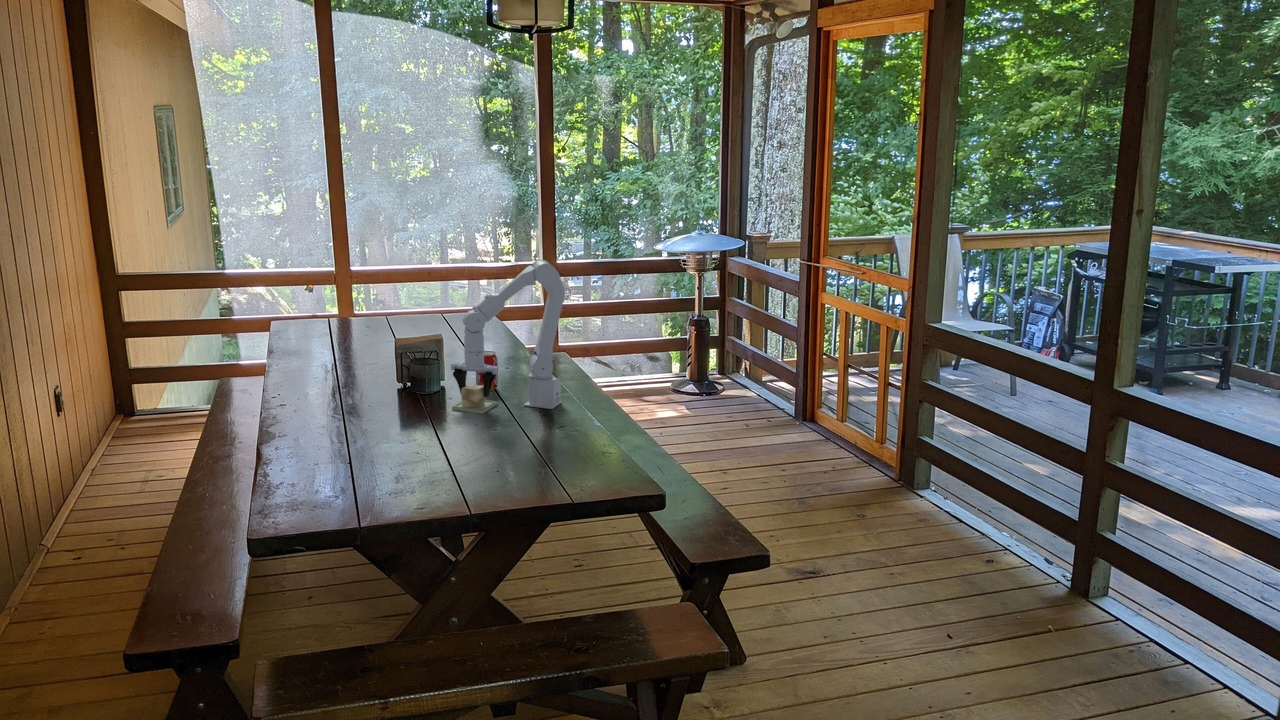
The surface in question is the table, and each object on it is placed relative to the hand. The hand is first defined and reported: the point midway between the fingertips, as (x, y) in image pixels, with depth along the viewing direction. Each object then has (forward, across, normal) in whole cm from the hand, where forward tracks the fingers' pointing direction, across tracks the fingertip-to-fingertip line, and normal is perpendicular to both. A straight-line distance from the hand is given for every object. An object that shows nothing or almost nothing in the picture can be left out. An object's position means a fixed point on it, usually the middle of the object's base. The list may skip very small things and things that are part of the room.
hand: (474, 394), depth 280 cm
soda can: (+4, +5, -21) cm, 22 cm away
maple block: (+3, 0, +2) cm, 4 cm away
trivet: (+4, 0, 0) cm, 4 cm away
